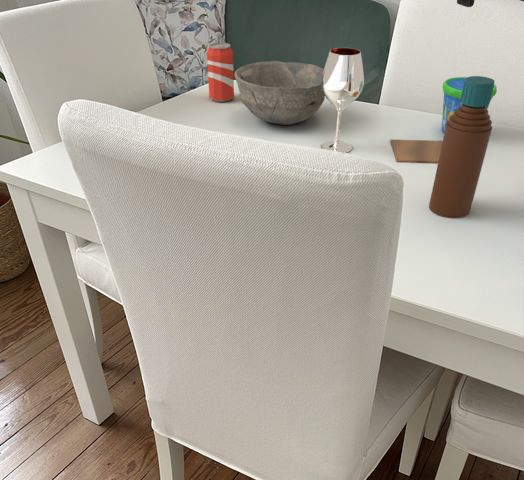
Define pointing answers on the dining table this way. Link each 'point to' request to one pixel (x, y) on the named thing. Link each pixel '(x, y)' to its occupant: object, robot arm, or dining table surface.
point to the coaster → (416, 150)
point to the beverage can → (220, 72)
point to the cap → (477, 91)
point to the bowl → (281, 90)
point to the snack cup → (454, 97)
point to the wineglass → (342, 87)
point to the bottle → (460, 161)
